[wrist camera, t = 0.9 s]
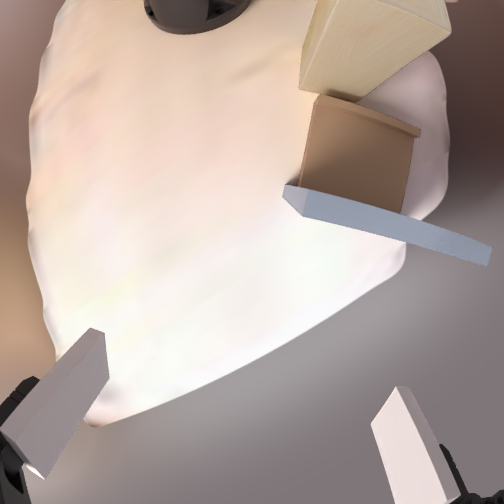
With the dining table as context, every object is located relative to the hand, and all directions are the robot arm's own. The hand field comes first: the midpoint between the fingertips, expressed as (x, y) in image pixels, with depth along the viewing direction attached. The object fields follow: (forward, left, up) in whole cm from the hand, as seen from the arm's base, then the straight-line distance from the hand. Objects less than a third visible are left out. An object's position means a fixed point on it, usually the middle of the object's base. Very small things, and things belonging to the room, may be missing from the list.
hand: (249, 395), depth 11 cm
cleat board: (-13, +9, -25) cm, 30 cm away
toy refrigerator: (-25, +4, -25) cm, 36 cm away
